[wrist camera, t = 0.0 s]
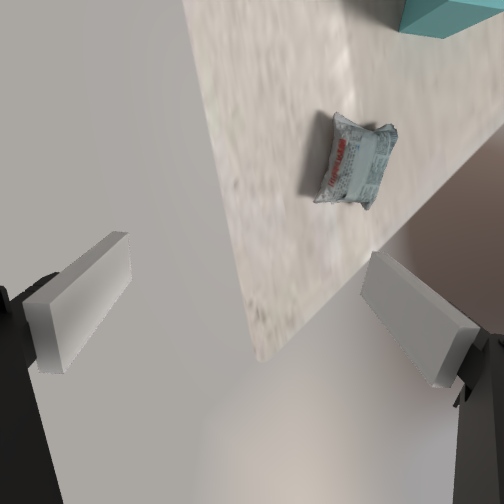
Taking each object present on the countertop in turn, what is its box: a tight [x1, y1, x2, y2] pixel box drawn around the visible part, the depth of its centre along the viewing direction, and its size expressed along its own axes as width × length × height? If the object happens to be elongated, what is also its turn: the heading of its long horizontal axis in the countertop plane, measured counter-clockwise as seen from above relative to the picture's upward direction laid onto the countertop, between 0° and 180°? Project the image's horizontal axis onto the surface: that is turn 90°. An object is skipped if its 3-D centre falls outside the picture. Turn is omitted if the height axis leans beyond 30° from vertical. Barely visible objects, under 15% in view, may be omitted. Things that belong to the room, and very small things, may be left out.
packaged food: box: [313, 112, 398, 210], centre depth 39 cm, size 9×12×5 cm
